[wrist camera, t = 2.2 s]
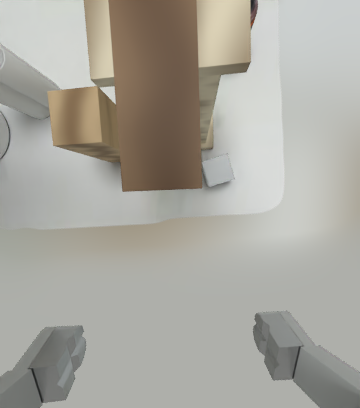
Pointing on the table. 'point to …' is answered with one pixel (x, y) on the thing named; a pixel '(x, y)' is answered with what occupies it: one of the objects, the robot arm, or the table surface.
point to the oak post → (85, 122)
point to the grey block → (217, 170)
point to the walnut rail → (157, 93)
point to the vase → (23, 86)
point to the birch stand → (207, 49)
